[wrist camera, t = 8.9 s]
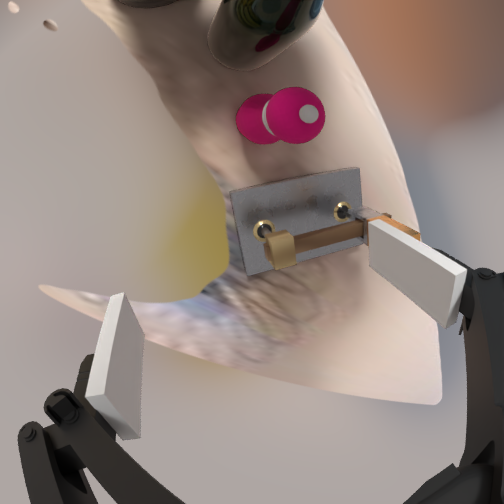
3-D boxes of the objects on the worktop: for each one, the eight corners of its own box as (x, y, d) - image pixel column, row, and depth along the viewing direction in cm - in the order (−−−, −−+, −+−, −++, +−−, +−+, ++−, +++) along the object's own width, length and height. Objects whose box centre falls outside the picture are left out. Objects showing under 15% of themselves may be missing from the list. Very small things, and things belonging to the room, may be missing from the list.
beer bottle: (286, 58, 40) (451, -14, 10) (224, 82, 39) (334, -11, 10) (257, 4, 35) (376, -119, 5) (194, 26, 35) (241, -129, 5)
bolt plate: (229, 191, 46) (231, 193, 44) (354, 166, 49) (360, 168, 48) (245, 272, 52) (247, 276, 50) (359, 240, 55) (363, 244, 53)
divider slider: (335, 203, 48) (402, 238, 33) (351, 199, 49) (420, 233, 33) (337, 226, 50) (401, 268, 35) (352, 222, 50) (418, 262, 35)
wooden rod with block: (249, 221, 47) (267, 243, 38) (361, 196, 50) (395, 210, 41) (254, 245, 48) (271, 271, 40) (362, 218, 51) (395, 235, 43)
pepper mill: (286, 131, 44) (357, 135, 26) (245, 151, 44) (294, 165, 26) (267, 89, 41) (329, 65, 23) (224, 109, 41) (259, 91, 23)
